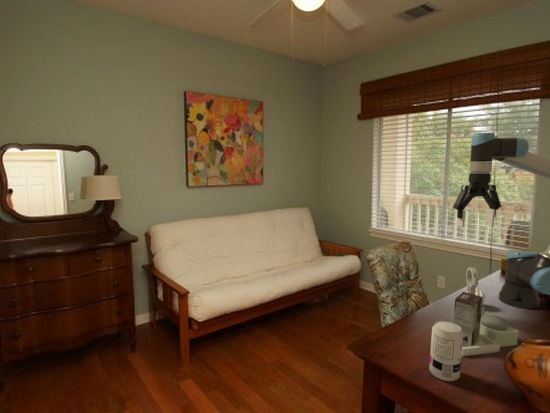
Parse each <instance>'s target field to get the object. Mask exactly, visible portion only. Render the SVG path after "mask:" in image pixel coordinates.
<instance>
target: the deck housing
mask: <svg viewBox="0 0 550 413" xmlns="http://www.w3.org/2000/svg"><path fill="white" fill-rule="evenodd" d="M518 338H519V330H518V329H515V328H513V327H511V326H509V320H507V319H505V318H504V317H501V316H499V315H494V314H485V315H483V316H482V317H481V323H480V335H479V341H478V342H477V343H476V344H475V346H470V347H462V357H469V356H476V355H484V354H485V355H486V354H492V353H500V350H501V347H502V348H503V347H512V346H517V345H518Z"/></svg>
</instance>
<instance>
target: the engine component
mask: <svg viewBox="0 0 550 413" xmlns="http://www.w3.org/2000/svg"><path fill="white" fill-rule="evenodd" d="M465 280H466V285H467V291H468V293H471V294H474V295H475V288H476V289H477V287H479V274H478V270H477V269H476V268H475V267H468V268H467V269H466V274H465ZM485 309H486V308H485V307H483V306H482V311H481V317H482V316H483V315H486V314H485V313H486V312H485V311H486V310H485Z"/></svg>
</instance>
